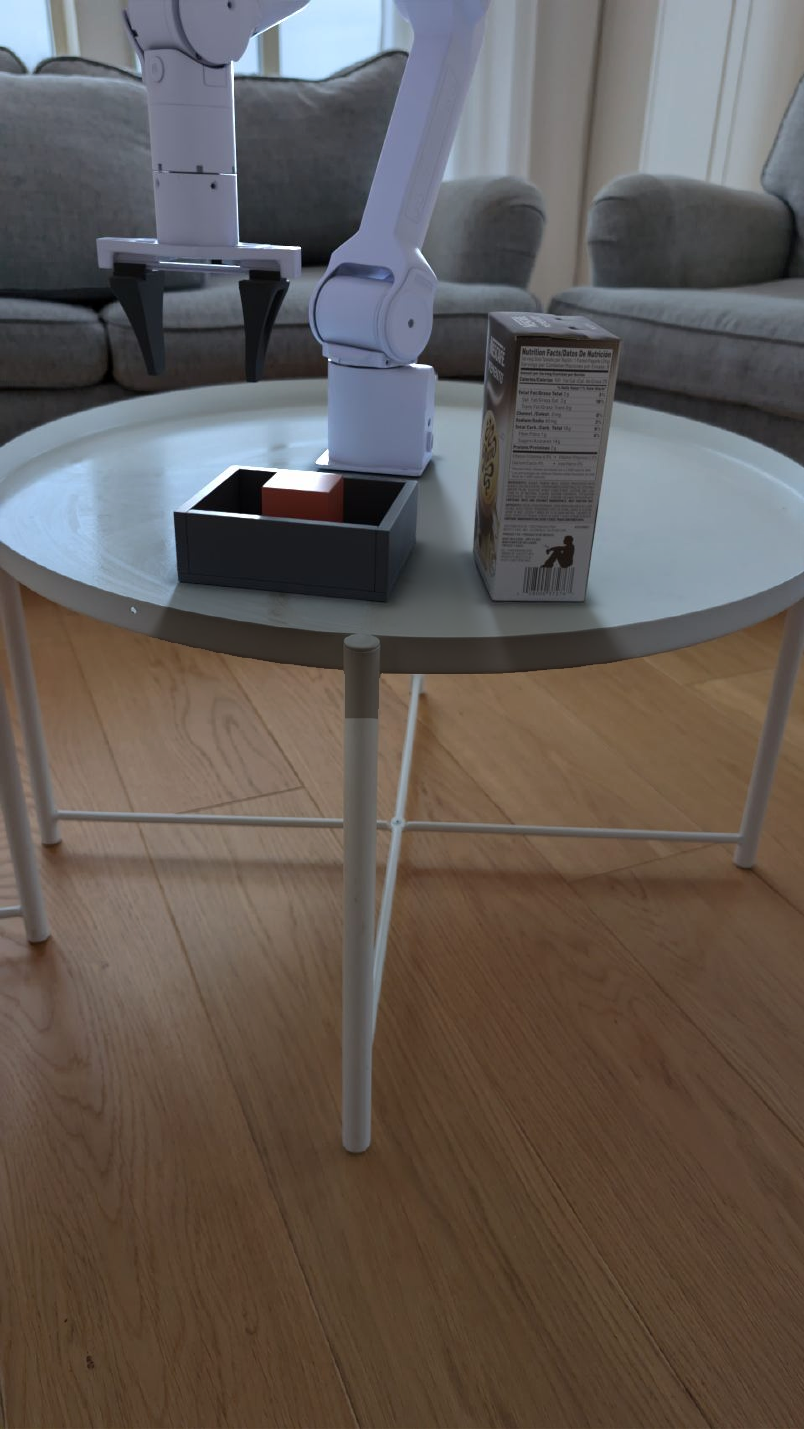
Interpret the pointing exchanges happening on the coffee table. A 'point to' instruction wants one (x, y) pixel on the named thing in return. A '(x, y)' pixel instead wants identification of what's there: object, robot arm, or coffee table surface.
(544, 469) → the grey cardboard tall box
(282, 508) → the block
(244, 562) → the open box
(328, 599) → the coffee table surface
